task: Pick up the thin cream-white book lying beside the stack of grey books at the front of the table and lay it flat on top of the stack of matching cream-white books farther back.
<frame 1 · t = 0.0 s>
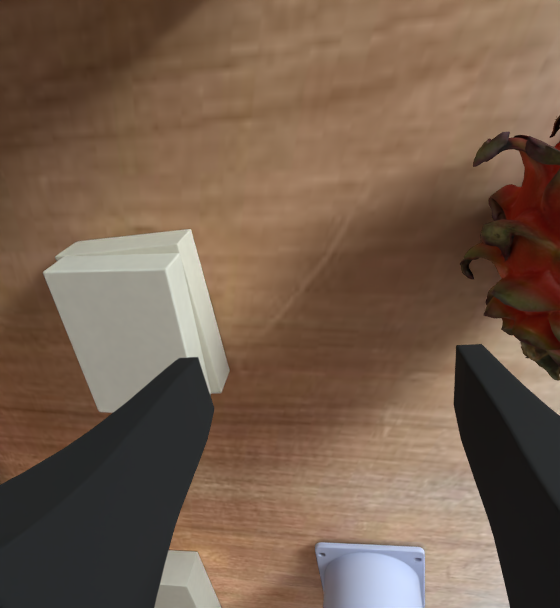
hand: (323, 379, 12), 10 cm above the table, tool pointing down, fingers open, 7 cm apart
white books: (157, 310, 24), on the table
dragon fruit: (559, 194, 18), on the table, touching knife
white book: (181, 579, 39), on the table
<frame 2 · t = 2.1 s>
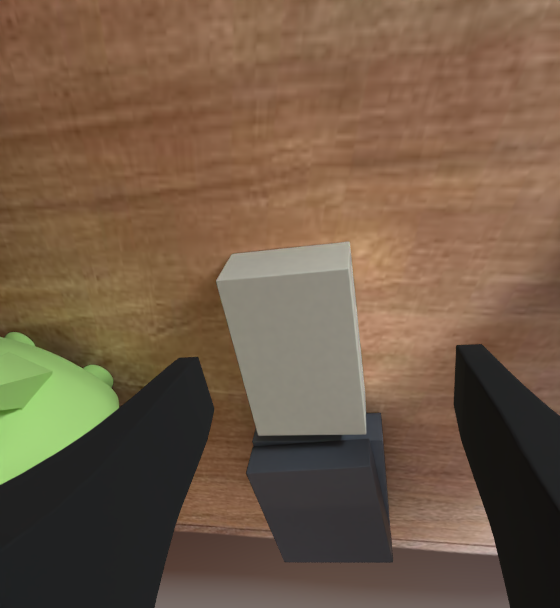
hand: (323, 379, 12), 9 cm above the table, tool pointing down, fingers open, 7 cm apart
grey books: (326, 464, 27), on the table
teapot: (56, 384, 27), on the table
white book: (303, 329, 22), on the table
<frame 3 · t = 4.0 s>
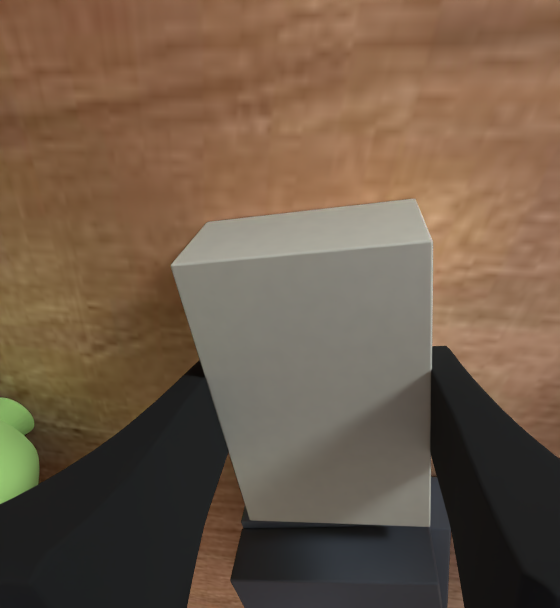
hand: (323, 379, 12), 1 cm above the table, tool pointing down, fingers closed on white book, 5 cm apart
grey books: (351, 543, 18), on the table
white book: (324, 350, 13), on the table, touching gripper
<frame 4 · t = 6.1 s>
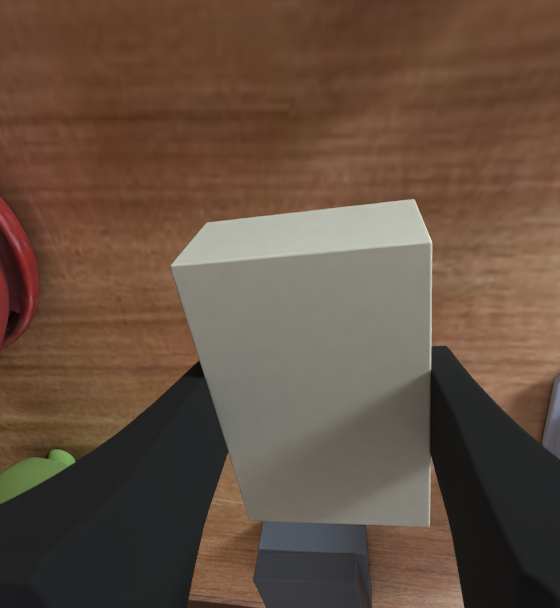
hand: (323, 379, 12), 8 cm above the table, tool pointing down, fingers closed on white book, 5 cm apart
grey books: (319, 558, 31), on the table
teapot: (90, 486, 31), on the table
white book: (324, 350, 13), point 7 cm above the table, touching gripper
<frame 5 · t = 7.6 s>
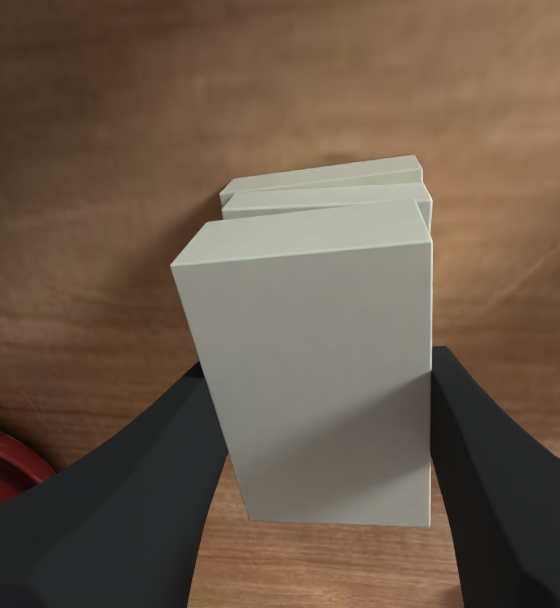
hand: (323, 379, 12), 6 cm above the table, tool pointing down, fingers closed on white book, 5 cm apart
white books: (332, 279, 18), on the table
flower pot: (2, 469, 28), on the table
white book: (324, 350, 13), point 5 cm above the table, touching gripper
when the fingers open (5 cm above the table, at t = 8.5 s): white book stays where it is, resting on white books.
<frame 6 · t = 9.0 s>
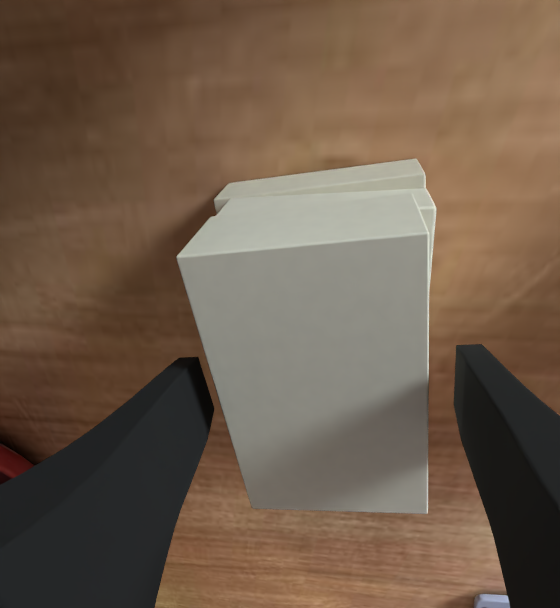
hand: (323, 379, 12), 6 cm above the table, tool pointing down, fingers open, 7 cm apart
white books: (331, 286, 17), on the table
white book: (325, 342, 14), point 4 cm above the table, touching white books
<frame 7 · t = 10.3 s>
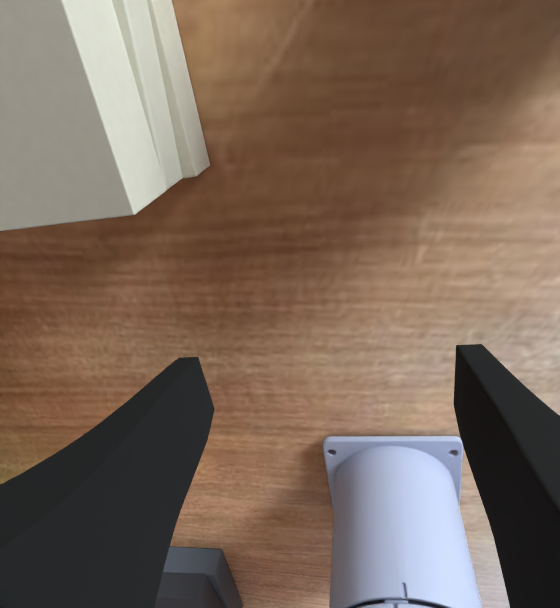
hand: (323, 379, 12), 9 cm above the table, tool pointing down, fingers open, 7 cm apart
white books: (109, 63, 18), on the table
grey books: (194, 576, 37), on the table
white book: (52, 66, 14), point 4 cm above the table, touching white books
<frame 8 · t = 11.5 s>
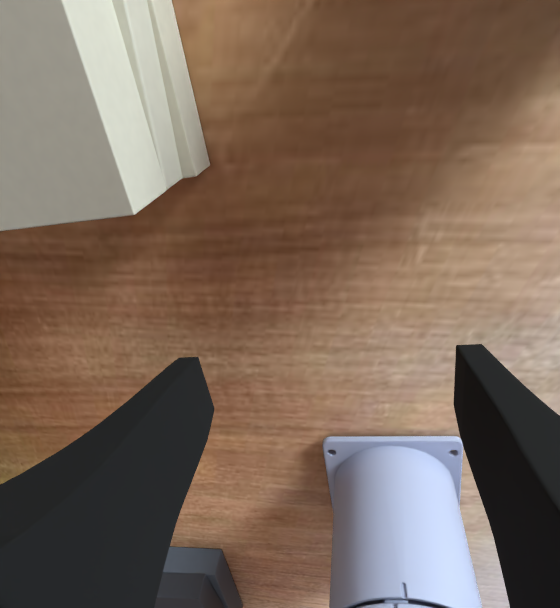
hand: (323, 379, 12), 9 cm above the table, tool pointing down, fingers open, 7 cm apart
white books: (109, 63, 18), on the table
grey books: (194, 576, 37), on the table
white book: (52, 66, 14), point 4 cm above the table, touching white books
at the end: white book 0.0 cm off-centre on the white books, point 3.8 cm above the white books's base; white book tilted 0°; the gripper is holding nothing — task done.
